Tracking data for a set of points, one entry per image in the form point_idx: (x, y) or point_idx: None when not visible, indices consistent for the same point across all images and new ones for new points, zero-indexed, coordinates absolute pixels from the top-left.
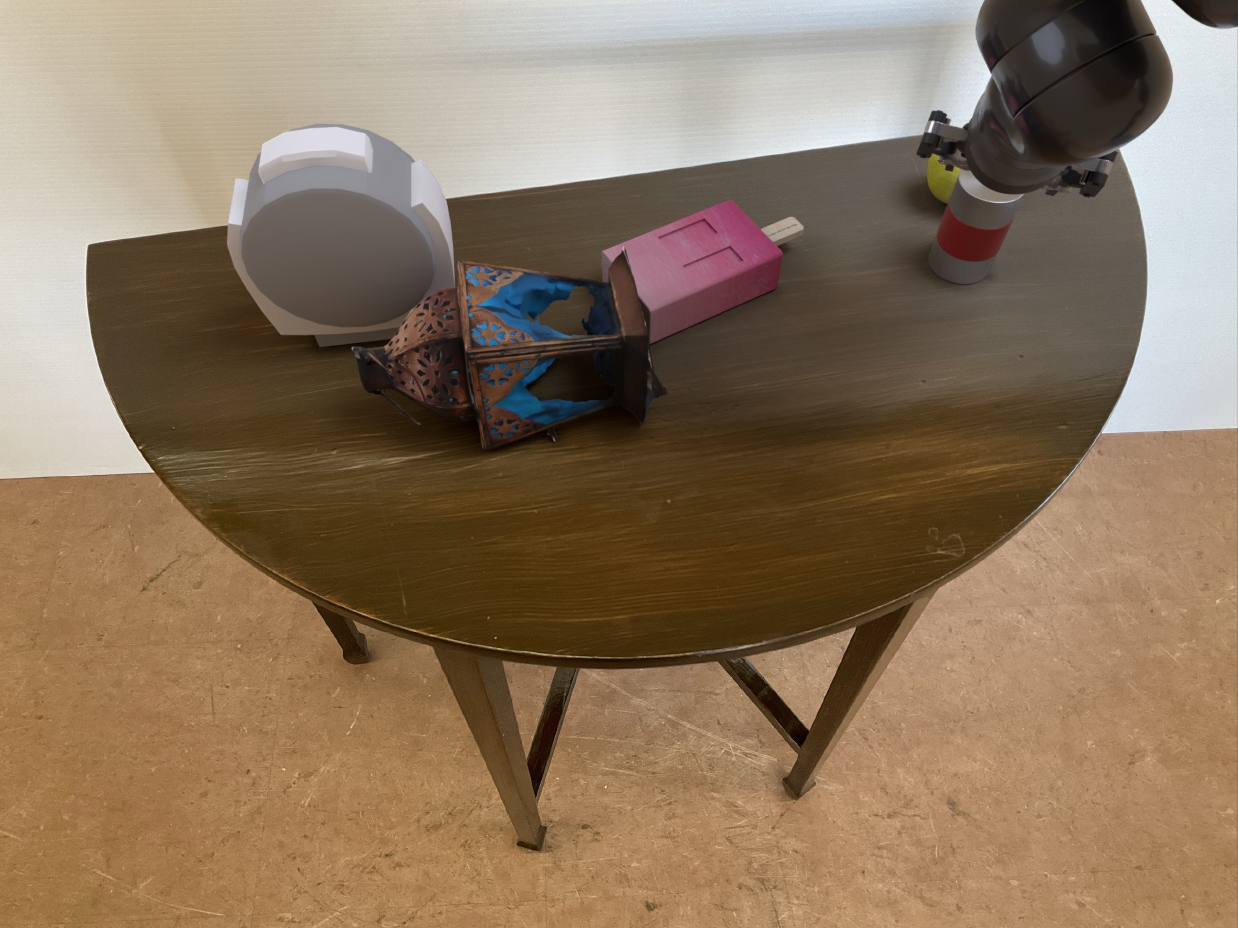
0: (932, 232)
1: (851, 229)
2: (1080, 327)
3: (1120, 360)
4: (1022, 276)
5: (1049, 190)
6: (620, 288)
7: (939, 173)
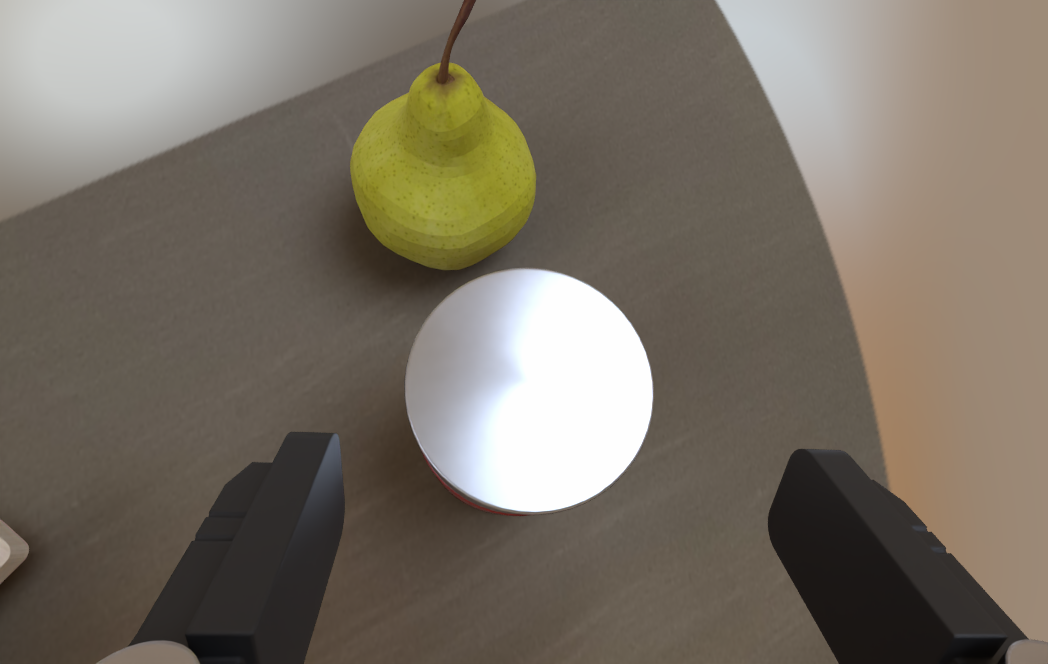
0: None
1: (216, 407)
2: None
3: None
4: None
5: (839, 660)
6: None
7: (383, 224)
